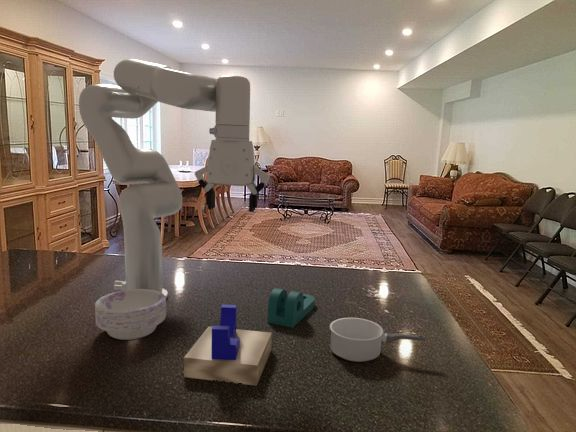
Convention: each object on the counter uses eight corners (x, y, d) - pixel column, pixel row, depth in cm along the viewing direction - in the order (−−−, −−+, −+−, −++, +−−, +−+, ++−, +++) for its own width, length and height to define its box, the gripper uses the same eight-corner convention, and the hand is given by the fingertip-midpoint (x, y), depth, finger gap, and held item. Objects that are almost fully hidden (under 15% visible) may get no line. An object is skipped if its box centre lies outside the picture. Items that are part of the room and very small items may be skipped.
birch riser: (184, 377, 83) (183, 357, 82) (208, 343, 96) (208, 326, 96) (256, 385, 81) (257, 365, 80) (271, 350, 94) (271, 332, 94)
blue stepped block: (235, 360, 82) (236, 329, 80) (211, 359, 82) (211, 328, 81) (243, 332, 93) (243, 305, 92) (222, 331, 93) (222, 304, 92)
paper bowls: (113, 316, 109) (112, 286, 107) (174, 319, 108) (174, 288, 107) (83, 345, 94) (81, 310, 92) (153, 348, 93) (153, 313, 92)
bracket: (292, 328, 106) (294, 297, 104) (267, 323, 108) (268, 292, 107) (317, 304, 122) (319, 277, 121) (295, 299, 125) (296, 273, 123)
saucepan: (425, 375, 86) (428, 349, 85) (324, 361, 90) (326, 336, 89) (421, 349, 97) (423, 325, 96) (331, 337, 102) (332, 314, 101)
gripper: (189, 132, 95) (189, 210, 98) (267, 135, 93) (265, 214, 96) (201, 133, 103) (201, 205, 106) (273, 135, 100) (271, 209, 103)
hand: (231, 209), depth 101 cm, fingers open, 9 cm apart
